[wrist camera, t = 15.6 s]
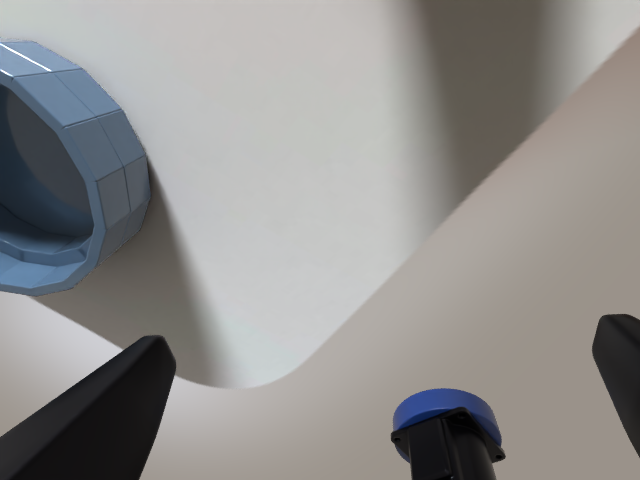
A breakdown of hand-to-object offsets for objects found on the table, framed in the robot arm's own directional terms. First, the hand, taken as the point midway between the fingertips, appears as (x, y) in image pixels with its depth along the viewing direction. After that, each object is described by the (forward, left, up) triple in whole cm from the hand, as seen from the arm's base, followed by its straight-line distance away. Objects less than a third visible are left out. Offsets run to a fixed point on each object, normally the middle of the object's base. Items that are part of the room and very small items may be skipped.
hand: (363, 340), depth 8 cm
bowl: (+11, +14, -13) cm, 22 cm away
